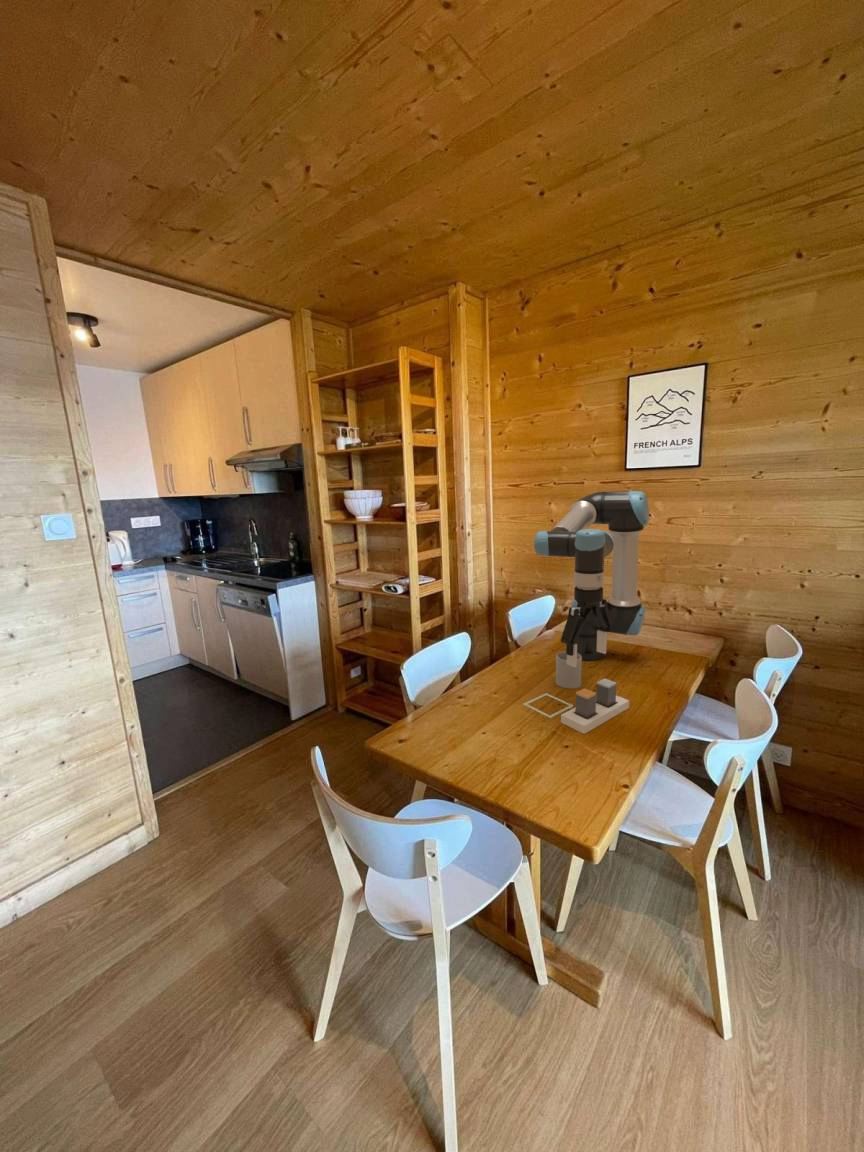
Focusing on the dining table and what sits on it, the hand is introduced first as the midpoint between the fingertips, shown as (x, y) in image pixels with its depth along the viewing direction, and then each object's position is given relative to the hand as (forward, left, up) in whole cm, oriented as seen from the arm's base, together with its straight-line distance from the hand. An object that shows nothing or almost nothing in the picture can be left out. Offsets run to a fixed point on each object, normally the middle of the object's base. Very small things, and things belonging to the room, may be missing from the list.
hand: (586, 658), depth 130 cm
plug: (0, 0, -20) cm, 20 cm away
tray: (-13, -1, -20) cm, 24 cm away
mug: (-19, +18, -21) cm, 33 cm away
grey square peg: (0, +10, -20) cm, 22 cm away
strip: (0, +5, -20) cm, 21 cm away
